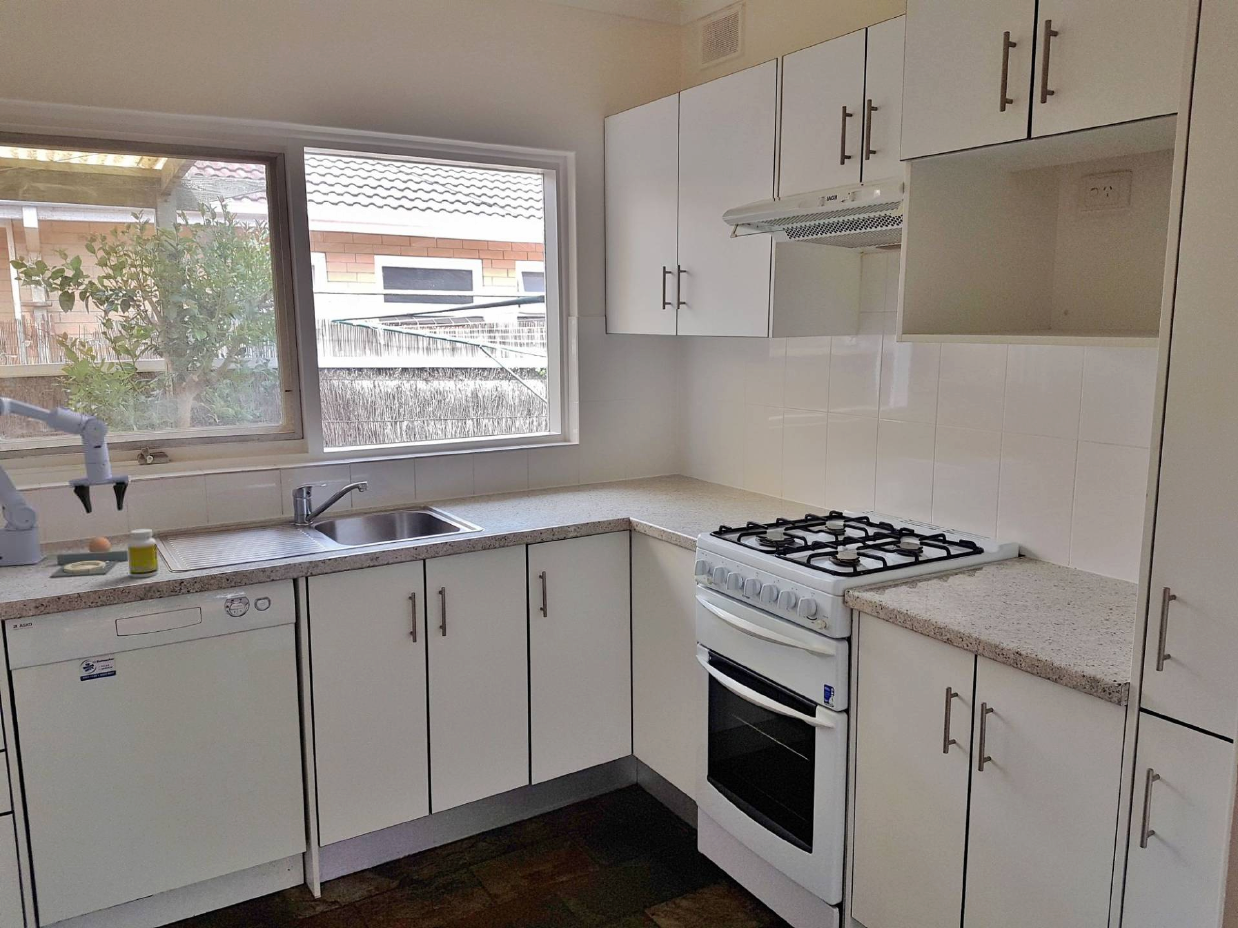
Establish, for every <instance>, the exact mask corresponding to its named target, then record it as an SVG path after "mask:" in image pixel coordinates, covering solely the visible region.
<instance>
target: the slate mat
mask: <svg viewBox="0 0 1238 928" xmlns="http://www.w3.org/2000/svg"><path fill="white" fill-rule="evenodd" d="M118 562H119V561H109V562H102V561H83V562H77V563H72V564H62V566H60V567H59V568H58V569H57V570H56V571H55V572H53V573H52V574H51V575H50V578H52V579H53V578H65V577H66V578H68V577H82V576H83V577H84V576H101V575H100V574H103V575H107V574H108V573H109V572H110V571H111V570H112V569H113V568H114V567H115V566H116V565H117V564H118ZM116 563H117V564H116ZM109 570H110V571H109Z"/></svg>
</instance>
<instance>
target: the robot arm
mask: <svg viewBox="0 0 1238 928" xmlns="http://www.w3.org/2000/svg"><path fill="white" fill-rule="evenodd" d="M10 414H12V415H13V414H14V415H18V416H22V417H25V418H30V419H35V420H38V421H42V422H45V423H46V425H47V426H48V428H49V429H52V430H57V431H59V432H63V433H66V434H72V435H74V436H78V435H79V436H81V442H82V446H81V447H82V452H83V458H84V465H85V472H86V477H83V478H76V479H75V478H74V479H72V478H71V479H70V480H68V484H69V488H71V489H73V493H74V494H75V496H77V498H78V499H79V500H80V502H81V504H82V505H83V508H84V509H85V513H86V514H91V513H92V512H93V507H92V503H91V502H92V501H91V495H90V494H91V493H90V487H92V486H104V485H113V486H112V489H113V492H114V496H115V499H116V501H115V502H116V508H117V511H119V512H120V511H122V510H123V509H124V501H125V500H124V498H125V494H126V491H127V488H128V486H129V484H130V483H131V482H132V478H131V477H132V476H131V474H119V475H118V474H117V475H116V474H115V475H112V469H111V463H110V455H109V450H108V443H107V440H106V439H107V437H106V436H107V433H108V426H107V425H106V423H105V421H103V420H102V419H100V418H98V417H94V416H92V415H88V413H86V412H83V413H80V412H76V411H73V410H69V407H66V406H63V405H62V406H61V407H58V406H57V407H53V408H51V409H47V408H44V407H43V408H42V407H41V406H40V407H39V406H36V405H33V404H30V403H27V402H24V401H20V400H16V399H14V398H10V397H5V396H0V416H5V415H10ZM0 507H1V510H2V511H1V514H2V517H3V519H4V520H5V521H7V522H6V524H5V526H3V528H0V567H1V566H17V565H18V566H19V565H20V566H21V565H33V564H34V565H37V564H39V563H40V562H41V561H42V560H44V559H45V558H47V555H46V554H41V545H40V544H41V543H40V536H39V535H40V534H39V524H38V523H37V522H38V519H39V512H38V510H37V509H36V508H35V507H34V506H33V505H31V504H30V503H28V502H27V500H26V499H25V498H24V497H23V495H22V494H21V493H20V492H19V490H18V489H17V486H15V484H14V483H13V481H12V479H11V478H10V477H9V475H8V473H7V471H6V470H5V469H4V468H3V465H2V464H1V463H0Z"/></svg>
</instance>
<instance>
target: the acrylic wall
mask: <svg viewBox="0 0 1238 928" xmlns="http://www.w3.org/2000/svg"><path fill="white" fill-rule="evenodd" d="M83 561H102V562H106V561H118V562H124V561H125V562H126V561H127V562H129V556H128V549H127V550H109V551H107V552H90V551H89V552H74V553H73V552H72V553H59V554H57V555H56V562H57V565H59V566H60V565H64V564H72V563H77V562H83Z"/></svg>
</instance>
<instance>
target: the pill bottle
mask: <svg viewBox="0 0 1238 928" xmlns="http://www.w3.org/2000/svg"><path fill="white" fill-rule="evenodd" d="M152 536H153V530H152V529H149V528H139V529H133V530H131V531H130V539H131V540H129V541H128V542H127V550H128V565H129V566H128V568H129V576H130V577H132V578H136V579H139V578H141V579H142V578H150V577H154V576H156V575H157V574H158V573H159V563H158V561H159V560H158V549H157V547H158V546H157V541H156V539H155V538H153V537H152Z"/></svg>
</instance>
